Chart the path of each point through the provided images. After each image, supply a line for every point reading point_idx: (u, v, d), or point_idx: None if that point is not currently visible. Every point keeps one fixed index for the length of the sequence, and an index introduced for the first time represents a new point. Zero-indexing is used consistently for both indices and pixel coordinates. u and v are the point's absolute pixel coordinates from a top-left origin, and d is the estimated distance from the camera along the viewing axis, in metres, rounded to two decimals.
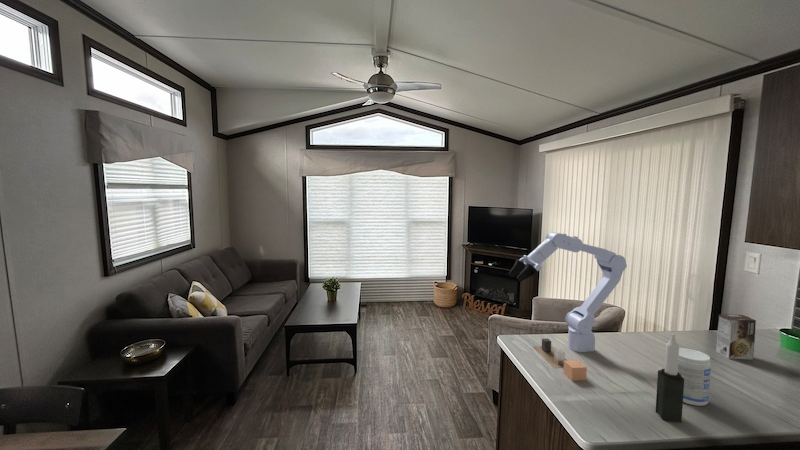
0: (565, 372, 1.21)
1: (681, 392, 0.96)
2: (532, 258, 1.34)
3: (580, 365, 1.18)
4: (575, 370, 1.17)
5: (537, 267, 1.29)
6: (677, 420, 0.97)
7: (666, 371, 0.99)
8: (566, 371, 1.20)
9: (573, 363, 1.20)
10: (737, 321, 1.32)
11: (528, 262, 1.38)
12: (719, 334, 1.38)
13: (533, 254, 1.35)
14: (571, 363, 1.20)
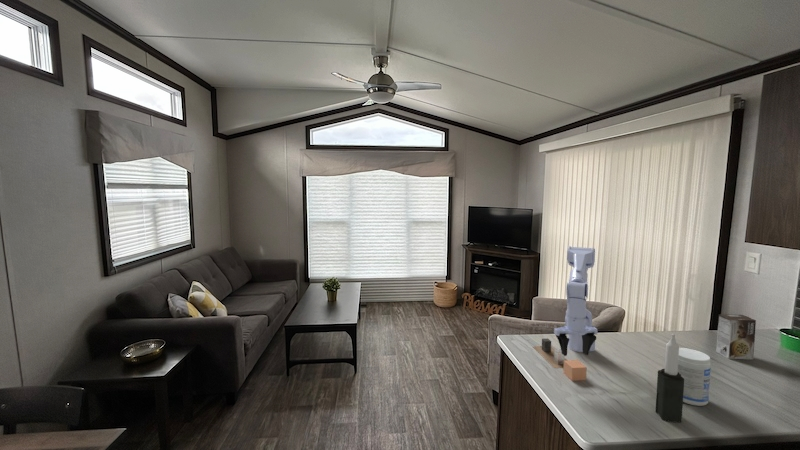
0: (565, 372, 1.21)
1: (681, 392, 0.96)
2: (584, 328, 1.16)
3: (580, 365, 1.18)
4: (575, 370, 1.17)
5: None
6: (677, 420, 0.97)
7: (666, 371, 0.99)
8: (566, 371, 1.20)
9: (573, 363, 1.20)
10: (737, 321, 1.32)
11: None
12: (719, 334, 1.38)
13: (583, 324, 1.16)
14: (571, 363, 1.20)
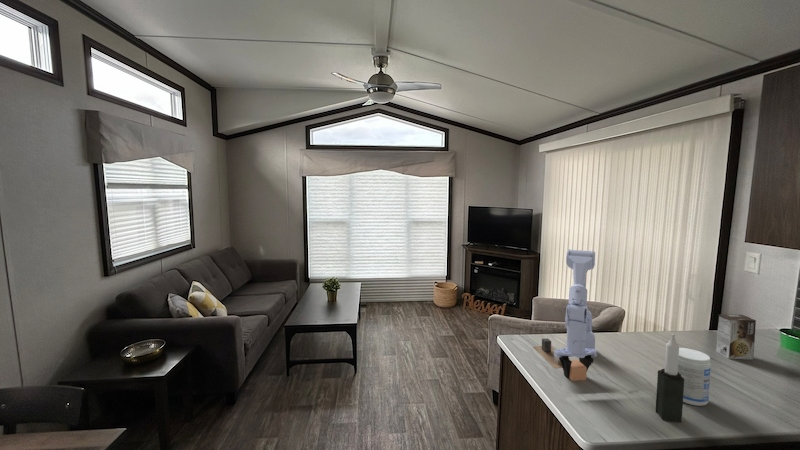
0: None
1: (681, 392, 0.96)
2: (584, 350, 1.17)
3: (580, 365, 1.18)
4: (575, 370, 1.17)
5: None
6: (677, 420, 0.97)
7: (666, 371, 0.99)
8: None
9: (573, 363, 1.20)
10: (737, 321, 1.32)
11: None
12: (719, 334, 1.38)
13: (583, 347, 1.16)
14: None
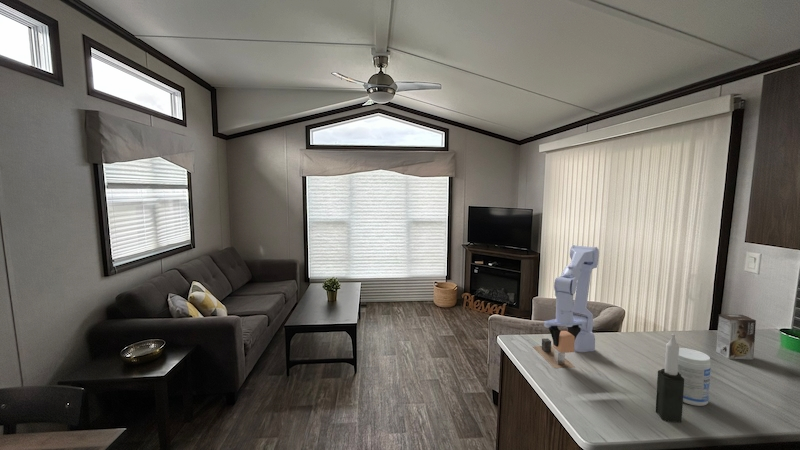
0: None
1: (681, 392, 0.96)
2: (572, 320, 1.24)
3: (568, 334, 1.25)
4: (564, 339, 1.24)
5: None
6: (677, 420, 0.97)
7: (666, 371, 0.99)
8: None
9: (562, 333, 1.27)
10: (737, 321, 1.32)
11: None
12: (719, 334, 1.38)
13: (571, 317, 1.23)
14: (560, 333, 1.27)
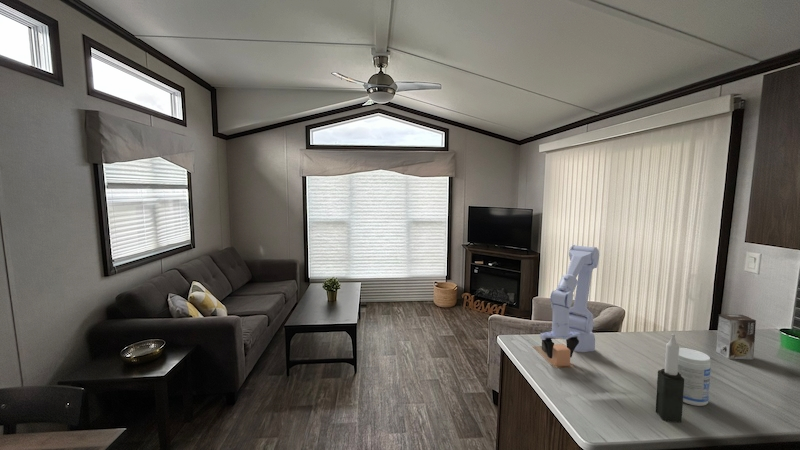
0: None
1: (681, 392, 0.96)
2: (568, 333, 1.27)
3: (564, 348, 1.28)
4: (560, 352, 1.26)
5: None
6: (677, 420, 0.97)
7: (666, 371, 0.99)
8: (552, 354, 1.30)
9: (558, 346, 1.29)
10: (737, 321, 1.32)
11: None
12: (719, 334, 1.38)
13: (567, 329, 1.26)
14: (556, 346, 1.29)
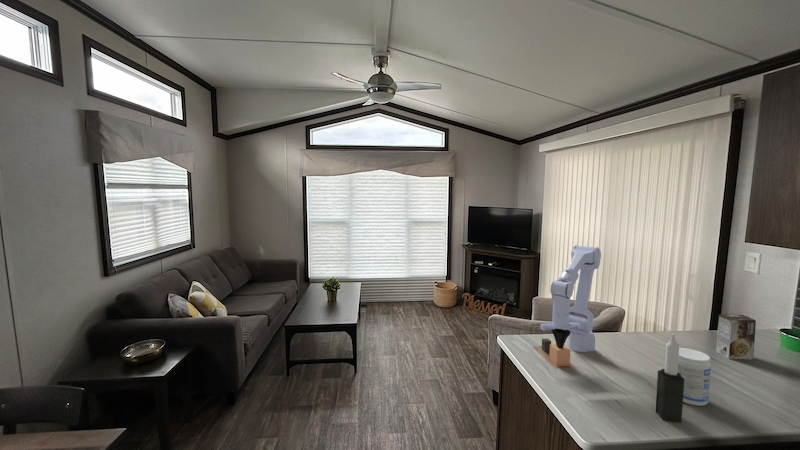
0: (551, 355, 1.30)
1: (681, 392, 0.96)
2: (568, 323, 1.26)
3: (564, 348, 1.28)
4: (560, 353, 1.26)
5: None
6: (677, 420, 0.97)
7: (666, 371, 0.99)
8: (552, 354, 1.30)
9: None
10: (737, 321, 1.32)
11: None
12: (719, 334, 1.38)
13: (567, 320, 1.26)
14: (556, 346, 1.29)
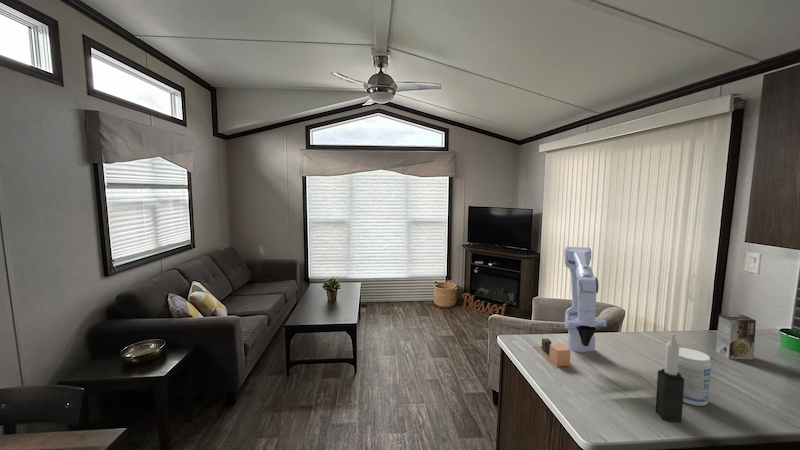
0: (551, 355, 1.30)
1: (681, 392, 0.96)
2: (594, 320, 1.24)
3: (564, 348, 1.28)
4: (560, 352, 1.26)
5: None
6: (677, 420, 0.97)
7: (666, 371, 0.99)
8: (552, 354, 1.30)
9: (558, 346, 1.29)
10: (737, 321, 1.32)
11: None
12: (719, 334, 1.38)
13: (593, 317, 1.23)
14: (556, 346, 1.29)
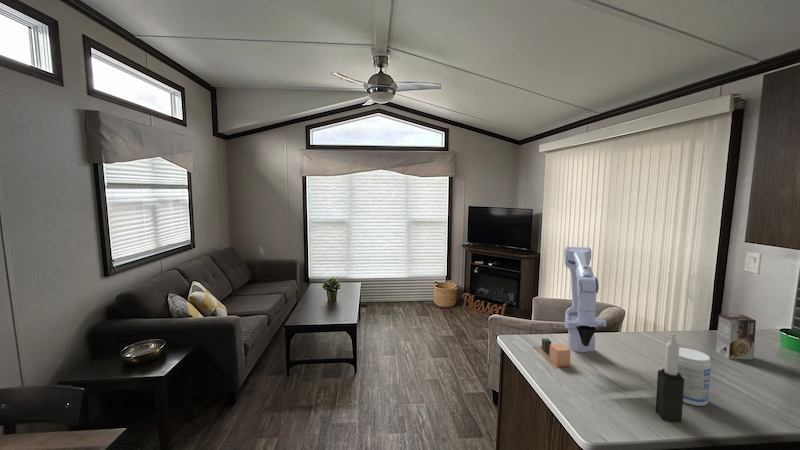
0: (551, 355, 1.30)
1: (681, 392, 0.96)
2: (594, 320, 1.24)
3: (564, 348, 1.28)
4: (560, 352, 1.26)
5: None
6: (677, 420, 0.97)
7: (666, 371, 0.99)
8: (552, 354, 1.30)
9: (558, 346, 1.29)
10: (737, 321, 1.32)
11: None
12: (719, 334, 1.38)
13: (594, 317, 1.23)
14: (556, 346, 1.29)
